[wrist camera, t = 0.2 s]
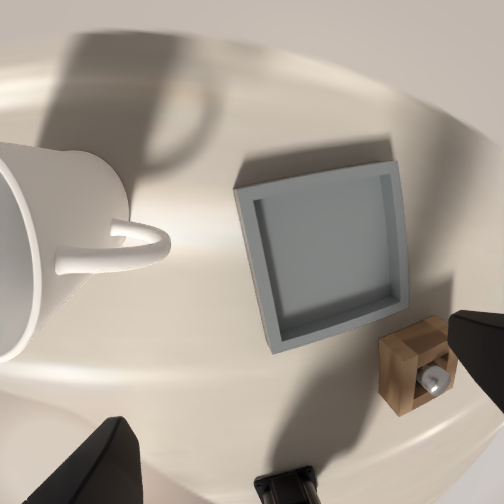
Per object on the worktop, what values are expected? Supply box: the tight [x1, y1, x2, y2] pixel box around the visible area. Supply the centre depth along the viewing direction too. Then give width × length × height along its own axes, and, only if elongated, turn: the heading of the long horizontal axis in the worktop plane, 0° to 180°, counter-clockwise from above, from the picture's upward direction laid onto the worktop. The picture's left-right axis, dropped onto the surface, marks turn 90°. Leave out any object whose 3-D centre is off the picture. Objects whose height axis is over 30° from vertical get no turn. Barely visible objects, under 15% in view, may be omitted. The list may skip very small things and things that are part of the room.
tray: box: [233, 161, 409, 355], centre depth 21 cm, size 11×11×2 cm
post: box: [416, 361, 451, 396], centre depth 23 cm, size 2×2×6 cm
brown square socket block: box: [378, 315, 458, 417], centre depth 24 cm, size 6×6×4 cm
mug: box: [0, 142, 171, 363], centre depth 13 cm, size 12×8×12 cm
